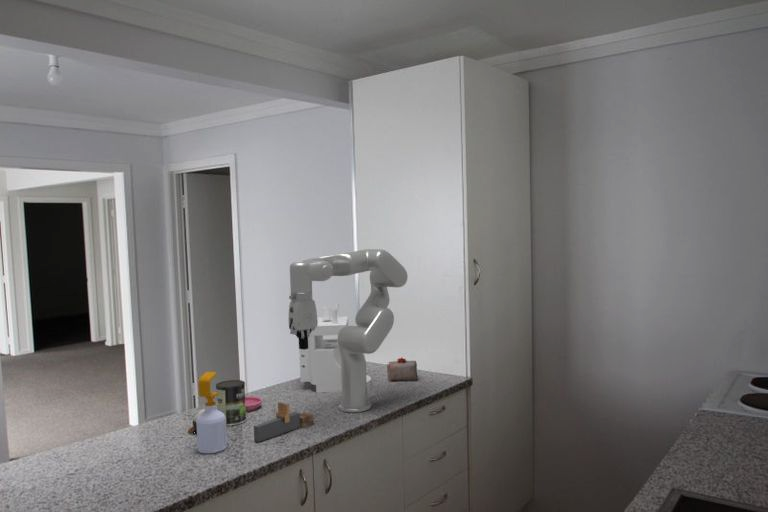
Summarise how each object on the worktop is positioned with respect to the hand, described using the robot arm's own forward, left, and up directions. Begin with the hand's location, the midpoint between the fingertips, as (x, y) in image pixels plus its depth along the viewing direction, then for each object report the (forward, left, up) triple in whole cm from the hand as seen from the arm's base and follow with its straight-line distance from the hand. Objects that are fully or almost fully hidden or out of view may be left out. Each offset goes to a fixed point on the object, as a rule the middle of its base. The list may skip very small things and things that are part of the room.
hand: (303, 348), depth 213 cm
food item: (-67, -10, -27) cm, 73 cm away
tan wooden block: (+11, 0, -23) cm, 25 cm away
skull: (+25, -25, -28) cm, 45 cm away
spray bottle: (+34, -7, -27) cm, 44 cm away
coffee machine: (-44, -29, -27) cm, 59 cm away
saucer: (+1, -34, -28) cm, 44 cm away
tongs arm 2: (+13, +1, -27) cm, 30 cm away
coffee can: (+14, -25, -27) cm, 40 cm away
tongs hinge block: (+1, 0, -27) cm, 27 cm away
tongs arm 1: (+13, -1, -27) cm, 30 cm away
